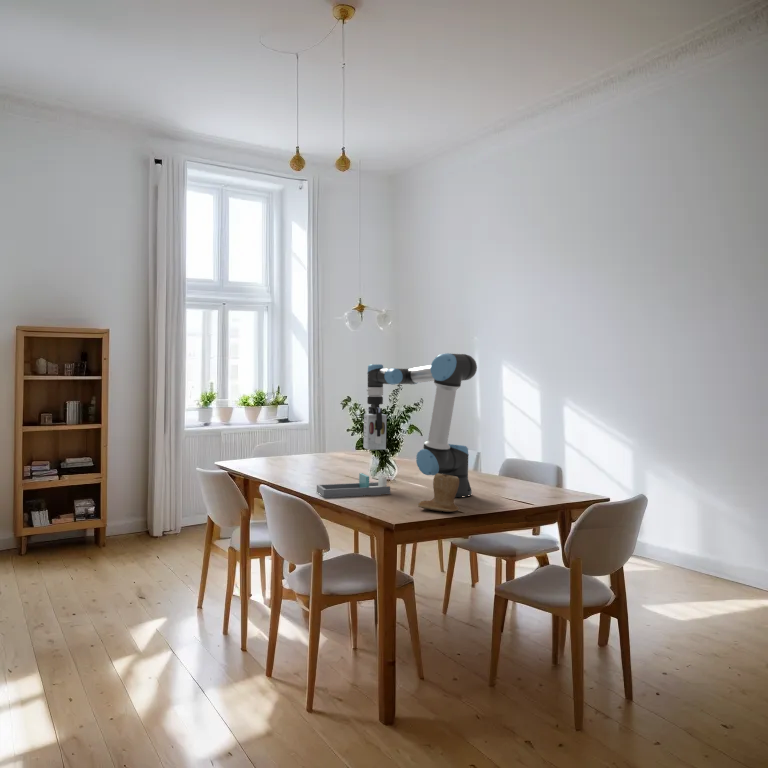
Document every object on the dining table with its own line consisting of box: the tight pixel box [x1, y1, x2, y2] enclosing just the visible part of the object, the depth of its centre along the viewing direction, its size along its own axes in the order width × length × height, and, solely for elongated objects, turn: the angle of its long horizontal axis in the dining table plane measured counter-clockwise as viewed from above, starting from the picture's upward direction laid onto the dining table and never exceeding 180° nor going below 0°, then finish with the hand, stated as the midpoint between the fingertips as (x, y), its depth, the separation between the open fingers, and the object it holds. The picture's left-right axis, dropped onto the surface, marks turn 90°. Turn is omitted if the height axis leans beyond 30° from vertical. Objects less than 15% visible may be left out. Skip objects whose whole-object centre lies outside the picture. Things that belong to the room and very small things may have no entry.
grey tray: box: [316, 481, 391, 498], centre depth 311 cm, size 14×31×4 cm, turn 109°
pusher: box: [358, 472, 388, 488], centre depth 314 cm, size 11×11×7 cm
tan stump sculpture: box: [417, 473, 460, 513], centre depth 275 cm, size 15×12×15 cm
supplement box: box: [363, 413, 388, 451], centre depth 330 cm, size 10×9×17 cm
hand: (374, 442), depth 330 cm, fingers closed on supplement box, 9 cm apart
